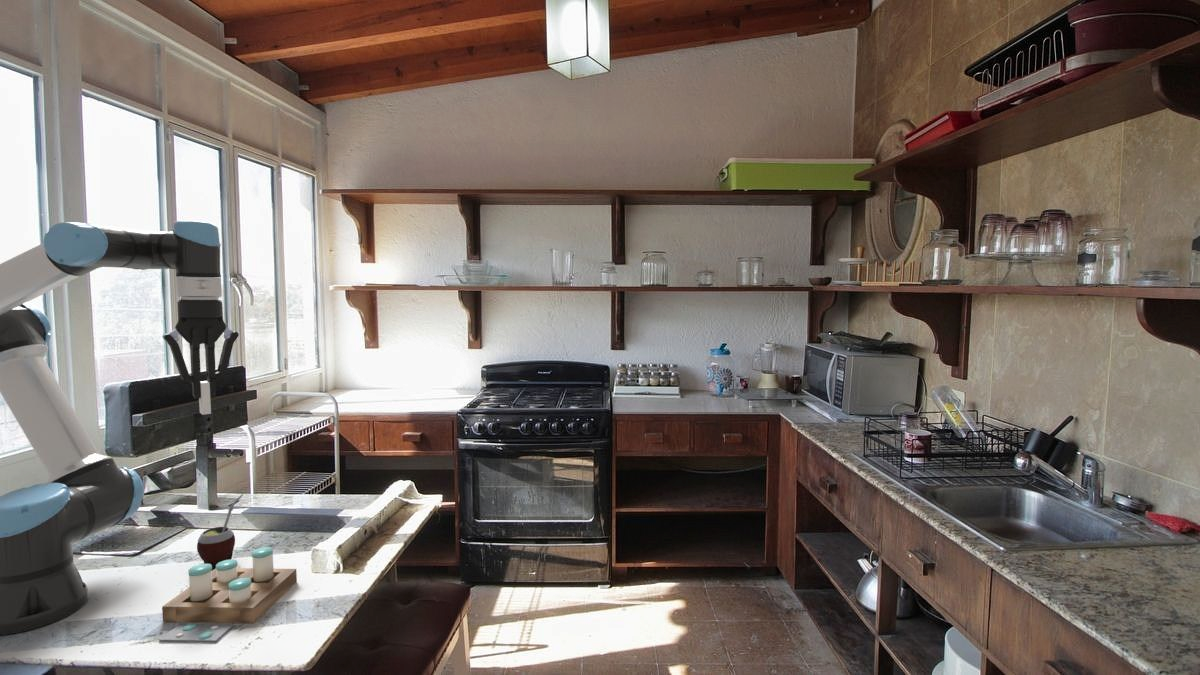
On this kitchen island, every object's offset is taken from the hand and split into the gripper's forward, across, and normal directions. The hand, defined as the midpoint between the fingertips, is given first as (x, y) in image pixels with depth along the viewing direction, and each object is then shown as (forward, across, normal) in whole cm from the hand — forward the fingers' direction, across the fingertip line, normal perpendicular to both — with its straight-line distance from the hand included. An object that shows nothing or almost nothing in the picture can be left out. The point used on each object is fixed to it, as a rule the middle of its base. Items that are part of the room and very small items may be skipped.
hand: (205, 413), depth 118 cm
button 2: (+36, +1, -6) cm, 37 cm away
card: (+36, -6, -19) cm, 42 cm away
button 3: (+36, +1, -17) cm, 40 cm away
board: (+36, +1, -11) cm, 38 cm away
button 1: (+33, -4, -11) cm, 35 cm away
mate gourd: (+37, +3, +8) cm, 38 cm away
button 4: (+33, +7, -11) cm, 36 cm away
